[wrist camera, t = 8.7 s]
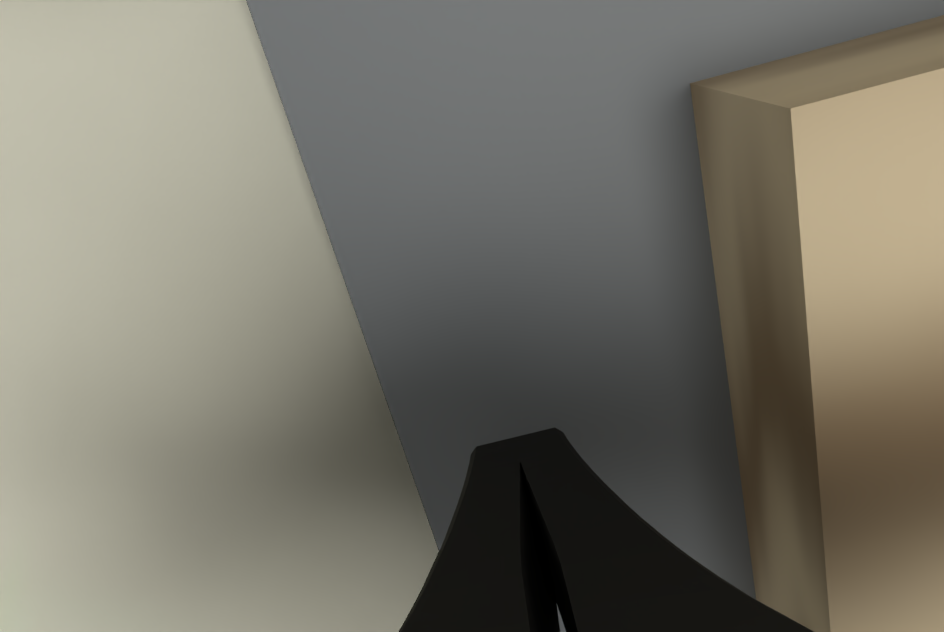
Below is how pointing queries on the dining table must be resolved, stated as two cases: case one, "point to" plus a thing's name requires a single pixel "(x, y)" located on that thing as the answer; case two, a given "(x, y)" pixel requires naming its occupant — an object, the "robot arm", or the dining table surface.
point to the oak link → (835, 321)
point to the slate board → (541, 226)
